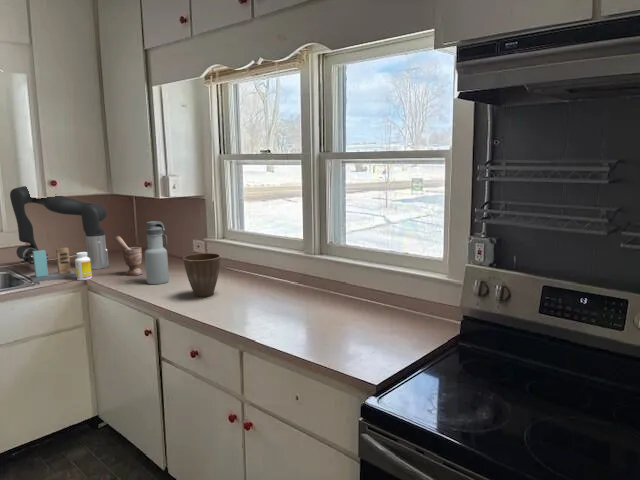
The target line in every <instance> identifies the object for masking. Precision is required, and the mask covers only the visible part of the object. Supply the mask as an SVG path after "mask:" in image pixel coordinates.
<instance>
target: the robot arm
mask: <svg viewBox="0 0 640 480" xmlns="http://www.w3.org/2000/svg"><path fill="white" fill-rule="evenodd" d="M26 186H27V185H25V186H19V187H15V188H13V189H11V190H10V192H9V198H10V202H11V206H12V210H13V213H14V216H15V219H16V223H17V225H16V226H17V232H18V239H19V241H20V242H21V243H28V244H27V245H20V246H18V247H17V248H16V256H17V257H18V259H20V263H28V264H30V265H34V259H33V251H40V250H39V247H38V246H37V245H38V244H36V240H35V236H34V235H35V234H34V226H33V224H32V222H31V220H30V219H29V217H28V216H27V213H26V210H25V205H26V204H31V203H33V204H38V205H42V206H43V207H45V208H46V209H47V210H48V211H50V212H52V213H56V214H61V215H70V216H71V215H72V216H81V222H82V228H83V231H84V233H85V240H86V250H87V251H86V252H87V257H89V258H90V263H91V270H101V269H105V268H110V263H109V253H108V249H107V244H106V232H105V229H104V228H102V227H101V226H100V222H101V221H104V220H105V219H106V218H107V209H106V208H105V207H104V206H103V205H101V204H96V203H89V202H84V201H80V200H77V199H74V198H71V197H67V196H64V195H63V196H62V195H60V196H55V197H47V198H41V199H36V198H31V197H30V194H29V191H28V189H27V187H26ZM46 258H47V260H49V255H48V253H46Z"/></svg>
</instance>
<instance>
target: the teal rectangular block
mask: <svg viewBox="0 0 640 480" xmlns="http://www.w3.org/2000/svg"><path fill="white" fill-rule="evenodd" d="M46 254H47V252H46V250H45V249H42V250H39V251H33V259H34V264H33V265H34V275H35V276H36V277H42V276H48V273H49V269H48V259H47V258H46Z"/></svg>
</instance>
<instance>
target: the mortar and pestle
mask: <svg viewBox="0 0 640 480" xmlns="http://www.w3.org/2000/svg"><path fill="white" fill-rule="evenodd" d="M114 241H115V242H116V243H117V244H118V245H119V246H120V247H121V248H122V252H123V261H124V262H125V266H127V267H128V271H127V272H126V276H129V277H132V276H140V275H143V274H144V273H143V269H141V268H140V265H141V264H142V260H143V259H142V258H143V252H142V249H143V248H142V247H140V246H132V247H129V246H128V245H127V244H126V242H125V241H124V239H123V238H122V237H121V236H120V235H117V236H115V237H114Z"/></svg>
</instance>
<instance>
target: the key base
mask: <svg viewBox="0 0 640 480" xmlns="http://www.w3.org/2000/svg"><path fill="white" fill-rule="evenodd" d="M75 277H76V278H77V276H76V271H74V270H72V269H71V273H64V274H59V273H58V271H57V272H56V271H55V272H48V276H42V277H36V276H35V274H33V275H29V279H30V280H31V282H32V283H39V281H41V282H46V281H45V280H48V281H54V279H55V280H60V279H68V278H75Z"/></svg>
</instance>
